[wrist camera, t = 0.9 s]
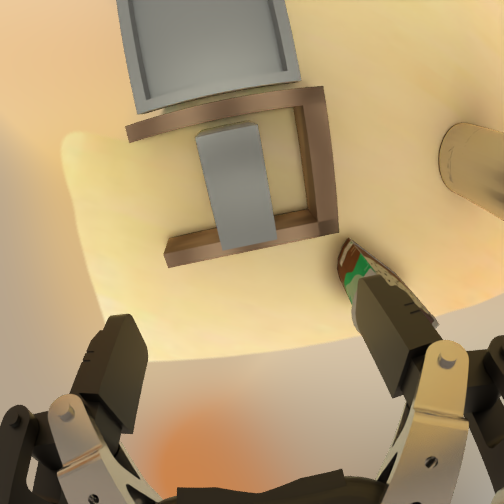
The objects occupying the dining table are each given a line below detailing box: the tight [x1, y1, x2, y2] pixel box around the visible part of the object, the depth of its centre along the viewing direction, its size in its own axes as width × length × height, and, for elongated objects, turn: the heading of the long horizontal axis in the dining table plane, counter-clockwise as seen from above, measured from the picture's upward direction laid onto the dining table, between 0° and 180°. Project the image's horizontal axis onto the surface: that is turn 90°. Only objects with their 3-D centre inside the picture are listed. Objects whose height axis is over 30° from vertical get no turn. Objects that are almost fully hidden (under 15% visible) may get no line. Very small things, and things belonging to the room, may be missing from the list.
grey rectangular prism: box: [195, 121, 277, 251], centre depth 25 cm, size 4×9×7 cm, turn 10°
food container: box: [337, 238, 439, 334], centre depth 30 cm, size 12×6×10 cm, turn 55°
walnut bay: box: [125, 86, 339, 268], centre depth 26 cm, size 16×14×4 cm
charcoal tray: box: [116, 0, 301, 114], centre depth 19 cm, size 14×15×2 cm
